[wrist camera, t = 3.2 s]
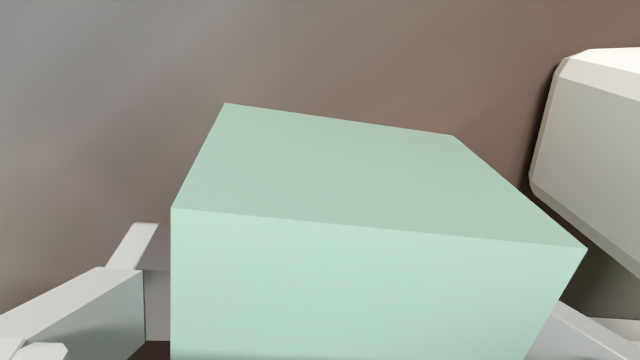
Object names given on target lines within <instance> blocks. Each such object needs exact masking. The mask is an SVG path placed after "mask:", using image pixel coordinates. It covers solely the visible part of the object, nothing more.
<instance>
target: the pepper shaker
mask: <svg viewBox="0 0 640 360" xmlns="http://www.w3.org/2000/svg"><path fill="white" fill-rule="evenodd" d="M529 182H530V187H531V189H532V191H533V193H534V195H535V196H537V197H538V198H539V199H540V200H542V201H543V202H544V203H545V204H547V205H548V206H549V207H550V208H552V209H553V210H554V211H555V212H557V213H558V214H559V215H560V216H562V217H563V218H564V219H565V220H566V221H568V222H569V223H570V224H571V225H573V226H574V227H575V228H576V229H578V230H579V231H580V232H581V233H583V234H584V235H585V236H586V237H588V238H589V239H590V240H591V241H593V242H594V243H595V244H596V245H598V246H599V247H600V248H601V249H603V250H604V251H605V252H606V253H608V254H609V255H610V256H611V257H613V258H614V259H615V260H616V261H617V262H619V263H620V264H621V265H622V266H624V267H625V268H626V269H627V270H629V271H630V272H631V273H632V274H634V275H635V276H636V277H637V278H639V279H640V47H636V48H609V49H589V50H586V51H583V52H580V53H578V54H575V55H572V56H569V57H566V58H564V59H562V61H561V62H560V64H559V66H558V67H557V69H556V70H555V72H554V75H553V79H552V83H551V87H550V91H549V95H548V99H547V103H546V107H545V111H544V114H543V118H542V122H541V126H540V130H539V134H538V138H537V142H536V146H535V150H534V154H533V158H532V162H531V166H530V170H529Z"/></svg>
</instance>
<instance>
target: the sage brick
mask: <svg viewBox="0 0 640 360" xmlns="http://www.w3.org/2000/svg"><path fill="white" fill-rule="evenodd" d="M587 250H588V248H586V247H585V246H584V245H583V244H582V243H581V242H579V241H578V240H577V239H576V238H575V237H573V236H572V235H571V234H570V233H569V232H567V231H566V230H565V229H564V228H563V227H561V226H560V225H559V224H558V223H557V222H555V221H554V220H553V219H552V218H551V217H550V216H548V215H547V214H546V213H545V212H544V211H542V210H541V209H540V208H539V207H538V206H536V205H535V204H534V203H533V202H532V201H530V200H529V199H528V198H527V197H526V196H525V195H523V194H522V193H521V192H520V191H519V190H517V189H516V188H515V187H514V186H513V185H511V184H510V183H509V182H508V181H507V180H505V179H504V178H503V177H502V176H501V175H500V174H498V173H497V172H496V171H495V170H494V169H492V168H491V167H490V166H489V165H488V164H486V163H485V162H484V161H483V160H482V159H480V158H479V157H478V156H477V155H476V154H475V153H473V152H472V151H471V150H470V149H469V148H467V147H466V146H465V145H464V144H463V143H461V142H460V141H459V140H458V139H457V138H455V137H454V136H453V135H446V134H439V133H432V132H425V131H418V130H411V129H404V128H397V127H390V126H383V125H376V124H369V123H362V122H355V121H348V120H341V119H334V118H327V117H320V116H313V115H306V114H299V113H292V112H285V111H278V110H271V109H265V108H258V107H251V106H244V105H237V104H230V103H225V104H224V106H223V107H222V109H221V111H220V113H219V115H218V117H217V119H216V121H215V123H214V125H213V127H212V129H211V131H210V133H209V135H208V137H207V139H206V140H205V142H204V144H203V146H202V148H201V150H200V152H199V154H198V156H197V158H196V160H195V162H194V164H193V166H192V168H191V170H190V172H189V173H188V175H187V177H186V179H185V181H184V183H183V185H182V187H181V189H180V191H179V193H178V195H177V197H176V199H175V201H174V203H173V205H172V206H171V321H170V360H523V359H524V358H525V356H526V354H527V352H528V351H529V349H530V347H531V346H532V344H533V342H534V340H535V339H536V337H537V335H538V334H539V332H540V330H541V329H542V327H543V325H544V323H545V322H546V320H547V318H548V317H549V315H550V313H551V312H552V310H553V308H554V306H555V305H556V303H557V301H558V300H559V298H560V296H561V295H562V293H563V291H564V289H565V288H566V286H567V284H568V283H569V281H570V279H571V277H572V276H573V274H574V272H575V271H576V269H577V267H578V266H579V264H580V262H581V260H582V259H583V257H584V255H585V254H586V252H587Z"/></svg>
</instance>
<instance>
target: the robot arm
mask: <svg viewBox="0 0 640 360" xmlns="http://www.w3.org/2000/svg"><path fill="white" fill-rule="evenodd" d="M170 321H171V225H166V224H158V223H147V222H136V223H134V224H133V225H132V226H131V228H130V229H129V231H128V232H127V234H126V235H125V237H124V238H123V240H122V241H121V243H120V245H119V246H118V248H117V249H116V251H115V252H114V254H113V255H112V257H111V258H110V260H109V261H108V263H107V265H106V266H105V267H96V268H94V269H92V270H90V271H88V272H86V273H84V274H82V275H80V276H78V277H76V278H74V279H72V280H70V281H68V282H66V283H64V284H62V285H60V286H58V287H56V288H54V289H52V290H50V291H48V292H46V293H44V294H42V295H40V296H38V297H36V298H34V299H32V300H30V301H28V302H26V303H24V304H22V305H20V306H18V307H16V308H14V309H12V310H10V311H8V312H6V313H4V314H2V315H0V360H127V359H128V358H129V357H130V356H131V355H132V354H133V353H134V352H135V351H137V350H138V349H139V348H140V347H141V346H142V345H143V344H144V343H145V340H153V341H170ZM523 360H640V347H638V346H636V345H634V344H633V343H631V342H629V341H628V340H626V339H624V338H622V337H621V336H619V335H617V334H616V333H614V332H612V331H610V330H609V329H607V328H605V327H604V326H602V325H600V324H598V323H597V322H595V321H593V320H592V319H590V318H588V317H586V316H585V315H583V314H581V313H580V312H578V311H576V310H575V309H573V308H571V307H569V306H568V305H566V304H564V303H563V302H561V301H557V303H556V305H555V306H554V308H553V310H552V312H551V313H550V315H549V317H548V318H547V320H546V322H545V323H544V325H543V327H542V329H541V330H540V332H539V334H538V335H537V337H536V339H535V340H534V342H533V344H532V346H531V347H530V349H529V351H528V352H527V354H526V356H525V358H524V359H523Z"/></svg>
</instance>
